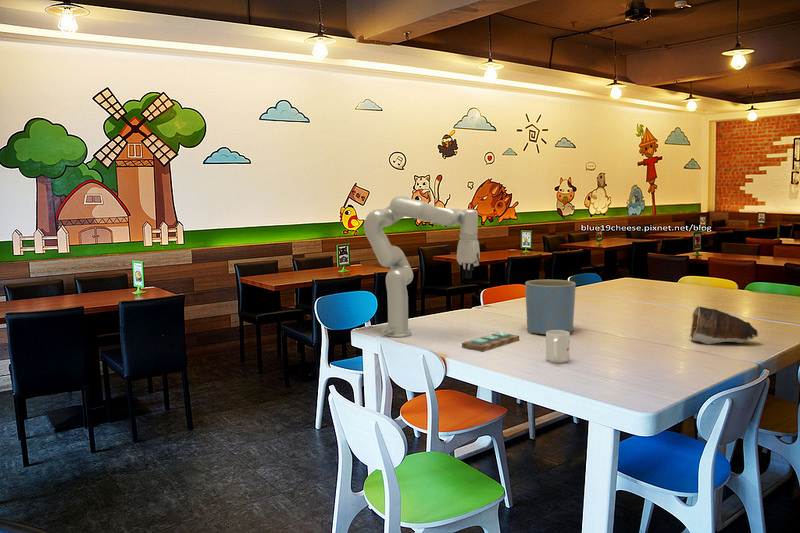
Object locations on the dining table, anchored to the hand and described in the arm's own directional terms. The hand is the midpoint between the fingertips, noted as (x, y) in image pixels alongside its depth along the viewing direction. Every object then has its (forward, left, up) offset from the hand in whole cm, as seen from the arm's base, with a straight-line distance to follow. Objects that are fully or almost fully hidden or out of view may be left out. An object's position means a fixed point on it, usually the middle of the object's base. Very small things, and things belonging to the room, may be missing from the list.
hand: (468, 278), depth 269 cm
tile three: (+7, -13, -27) cm, 31 cm away
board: (-1, -13, -28) cm, 31 cm away
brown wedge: (+64, -87, -28) cm, 112 cm away
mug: (-8, -49, -28) cm, 57 cm away
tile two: (-1, -13, -28) cm, 30 cm away
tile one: (-9, -13, -28) cm, 32 cm away
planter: (+36, -20, -28) cm, 50 cm away
